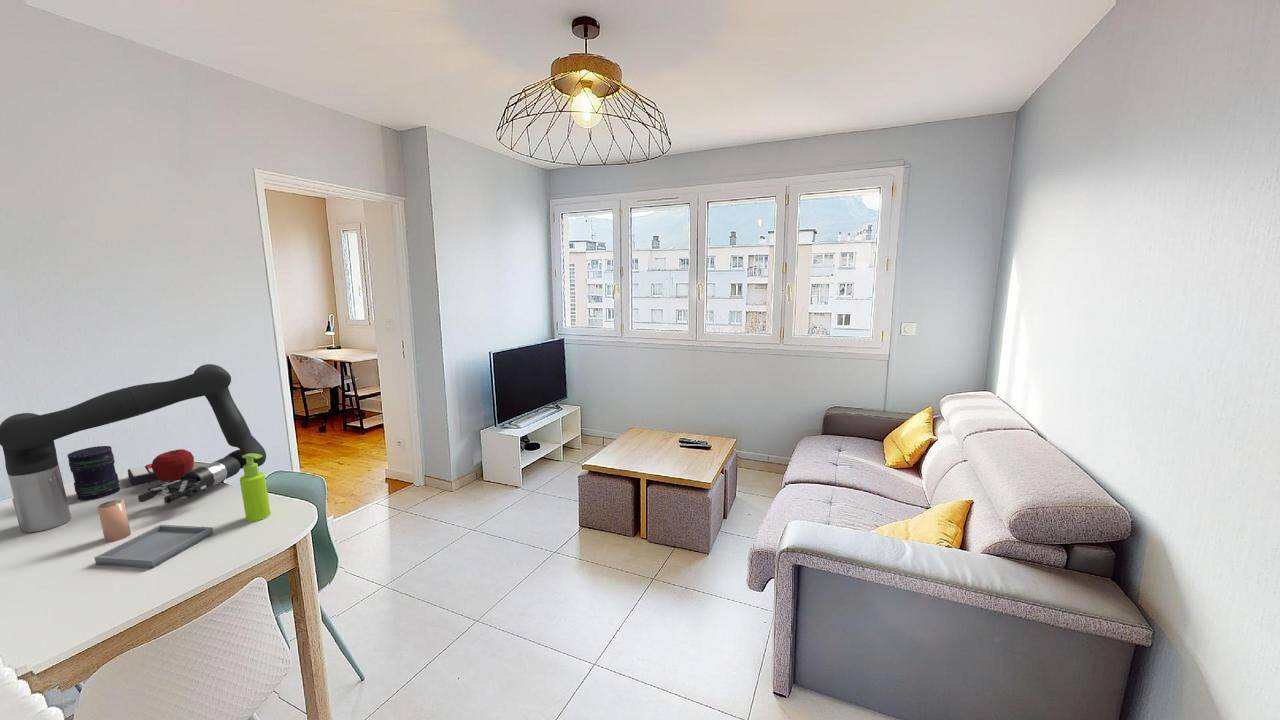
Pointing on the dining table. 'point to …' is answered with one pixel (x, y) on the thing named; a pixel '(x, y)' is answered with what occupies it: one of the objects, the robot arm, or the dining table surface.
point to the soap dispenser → (254, 490)
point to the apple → (172, 465)
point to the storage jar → (94, 472)
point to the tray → (154, 546)
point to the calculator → (141, 475)
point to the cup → (114, 520)
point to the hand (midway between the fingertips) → (152, 500)
